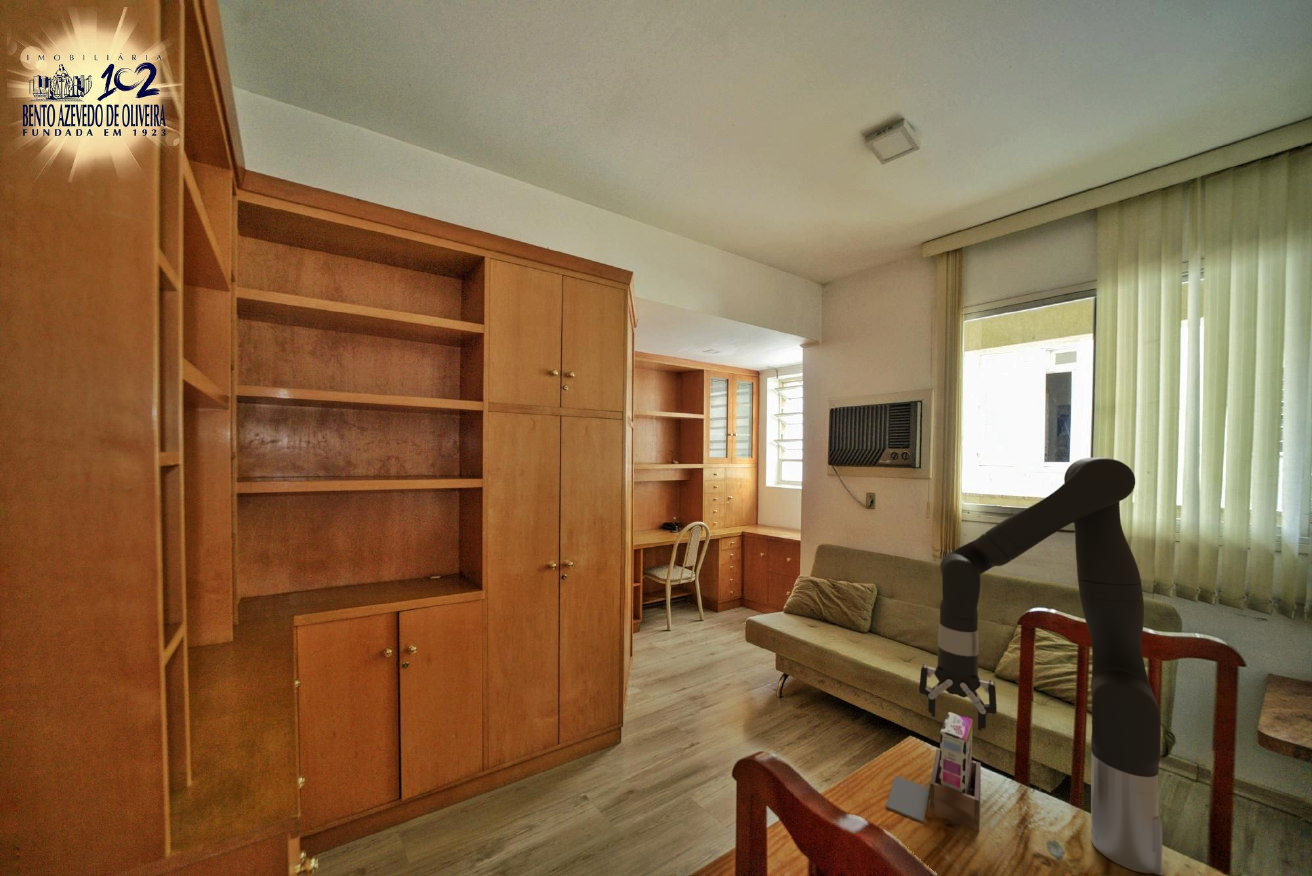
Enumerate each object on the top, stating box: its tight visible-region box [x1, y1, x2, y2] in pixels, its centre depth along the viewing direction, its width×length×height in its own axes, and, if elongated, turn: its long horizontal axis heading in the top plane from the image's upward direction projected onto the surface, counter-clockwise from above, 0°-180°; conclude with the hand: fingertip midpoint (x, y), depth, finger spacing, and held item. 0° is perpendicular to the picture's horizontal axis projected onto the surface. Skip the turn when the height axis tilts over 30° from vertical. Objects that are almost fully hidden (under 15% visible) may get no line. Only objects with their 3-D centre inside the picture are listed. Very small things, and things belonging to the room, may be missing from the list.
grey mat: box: [885, 775, 930, 824], centre depth 105 cm, size 7×12×1 cm, turn 145°
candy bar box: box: [939, 711, 974, 795], centre depth 105 cm, size 11×5×16 cm, turn 141°
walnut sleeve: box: [929, 748, 982, 832], centre depth 105 cm, size 9×15×6 cm, turn 145°
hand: (956, 721), depth 105 cm, fingers open, 8 cm apart
